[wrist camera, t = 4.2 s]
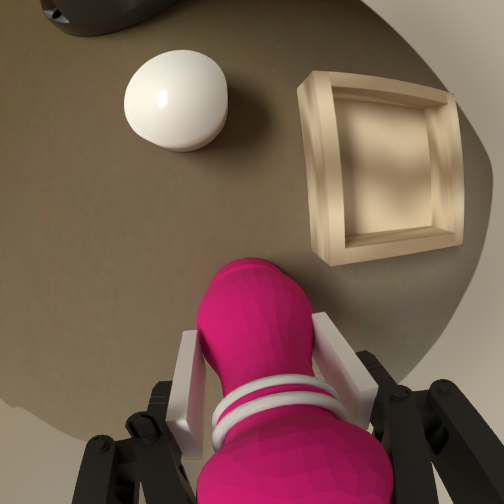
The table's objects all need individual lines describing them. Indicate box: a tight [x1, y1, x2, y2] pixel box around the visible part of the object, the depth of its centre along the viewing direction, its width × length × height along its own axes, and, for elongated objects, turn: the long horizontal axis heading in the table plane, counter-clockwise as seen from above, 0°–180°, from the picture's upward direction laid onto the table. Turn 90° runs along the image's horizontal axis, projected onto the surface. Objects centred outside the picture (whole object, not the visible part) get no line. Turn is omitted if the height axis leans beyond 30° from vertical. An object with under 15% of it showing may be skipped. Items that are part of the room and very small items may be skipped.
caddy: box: [297, 71, 464, 266], centre depth 18 cm, size 12×12×4 cm
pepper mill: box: [196, 258, 394, 504], centre depth 12 cm, size 7×7×20 cm
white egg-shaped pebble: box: [124, 50, 228, 152], centre depth 15 cm, size 6×6×4 cm
